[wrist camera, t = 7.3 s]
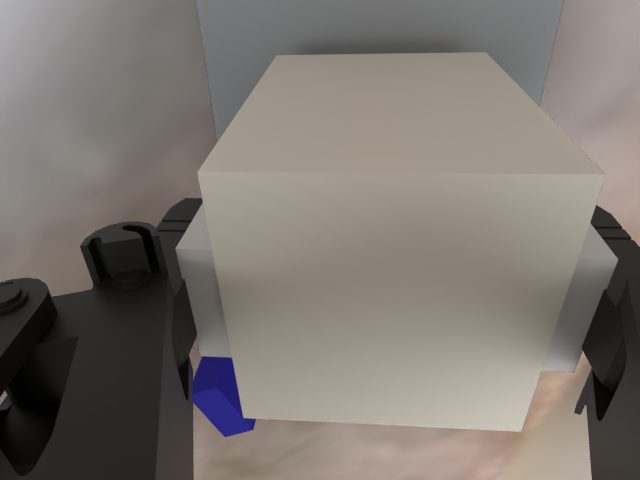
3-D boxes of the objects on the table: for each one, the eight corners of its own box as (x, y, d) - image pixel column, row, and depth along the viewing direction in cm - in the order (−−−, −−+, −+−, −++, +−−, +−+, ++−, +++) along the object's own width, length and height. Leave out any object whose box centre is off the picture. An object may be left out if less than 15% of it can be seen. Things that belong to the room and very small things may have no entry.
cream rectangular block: (289, 228, 17) (243, 417, 11) (276, 55, 14) (197, 172, 7) (458, 230, 17) (520, 431, 10) (486, 52, 13) (605, 174, 7)
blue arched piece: (264, 359, 27) (242, 455, 22) (222, 303, 25) (187, 395, 20) (471, 297, 24) (500, 394, 19) (441, 226, 22) (466, 314, 17)
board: (236, 218, 22) (198, 307, 17) (167, -276, 13) (42, -410, 8) (502, 222, 21) (548, 318, 16) (615, -305, 12) (800, -477, 7)
